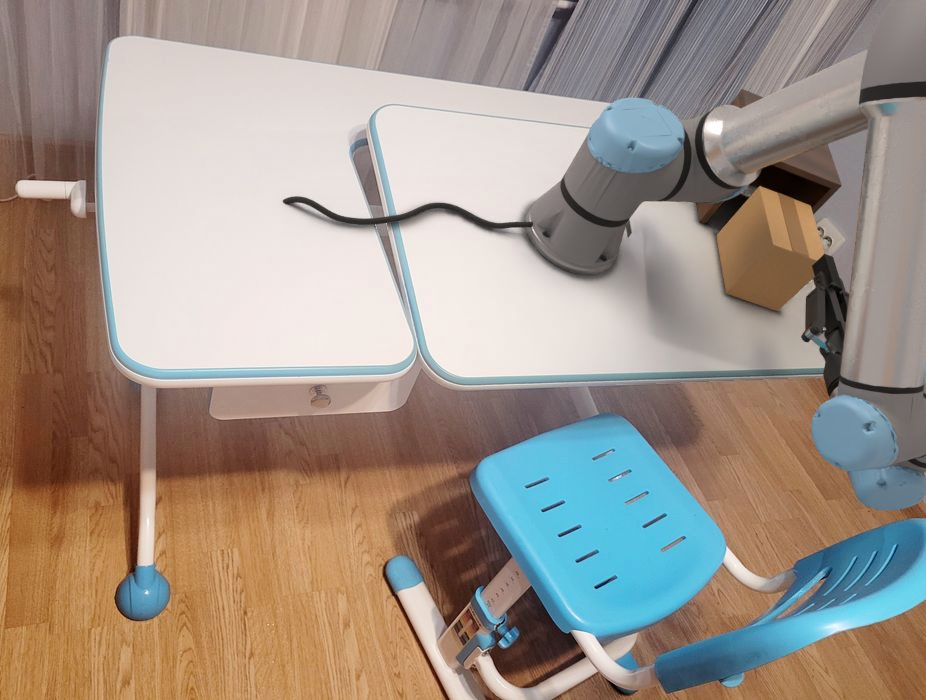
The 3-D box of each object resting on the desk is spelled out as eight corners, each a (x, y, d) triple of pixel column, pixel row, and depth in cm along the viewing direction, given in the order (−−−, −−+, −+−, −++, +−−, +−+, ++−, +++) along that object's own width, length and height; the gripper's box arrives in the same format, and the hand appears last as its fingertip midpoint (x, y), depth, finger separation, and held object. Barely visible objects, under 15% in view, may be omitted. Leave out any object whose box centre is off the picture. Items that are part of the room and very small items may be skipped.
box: (777, 311, 127) (828, 264, 118) (725, 293, 125) (773, 244, 115) (764, 253, 135) (811, 205, 126) (716, 235, 133) (759, 185, 124)
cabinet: (778, 250, 137) (842, 185, 125) (699, 222, 134) (757, 151, 122) (762, 186, 149) (820, 120, 137) (689, 158, 145) (741, 88, 133)
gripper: (797, 393, 98) (767, 264, 113) (880, 419, 100) (841, 290, 115) (838, 360, 92) (802, 229, 107) (925, 389, 95) (878, 258, 110)
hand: (822, 261), depth 111 cm, fingers closed
